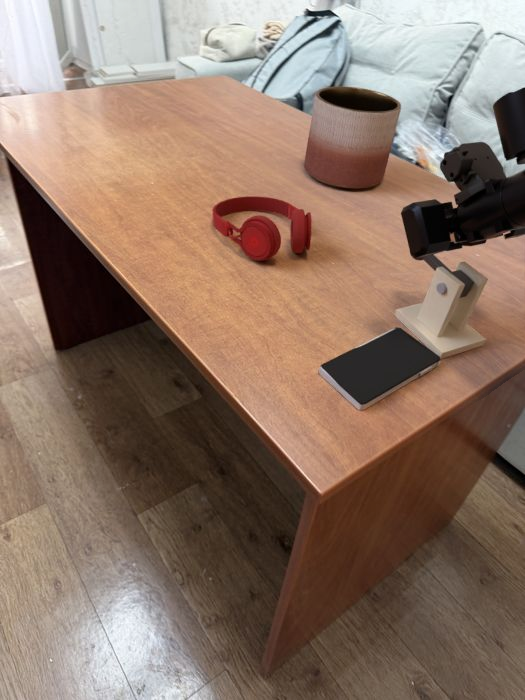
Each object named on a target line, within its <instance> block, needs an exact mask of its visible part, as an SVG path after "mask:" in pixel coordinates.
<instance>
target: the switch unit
mask: <svg viewBox="0 0 525 700" xmlns="http://www.w3.org/2000/svg"><path fill="white" fill-rule="evenodd" d="M457 270H461V271H462V272H463V273H465V274H466V275H467V276H468V277H469V278H470V279H471V280H472V281H473V282H474V284H473V286H472V287H471V289H470V291H469V293H468V295H467V296H465V297H462V298H459V297H460V295H461V293H462V291H463V288H464V286H465V284H464V283H463V282H461V281H460V280H459V279H458V278H456V277H455V276H454V275H452V274H451V273H450V272H449V271H447V270H446V269H445V268H444V267H438V268H437V269H436V271H435V270H434V273H433V276H432V278H431V281H430V284H429V287H428V289H427V292H426V294H425V297H424V300H423V302H419V303H416V304H412V305H408V306H403V307H400V308H396V310H395V313H394V316H395V318H397V320H398V321H399V322H401V323H402V324H403V326H405V327H406V328H407V329H408V330H409V331H410V333H412V334H413V335H414V336H415V337H416V339H417V340H418V341H419V342H420V343H422V344H423V345H425V346H426V347H427V348H429V349H430V350H431V351H433V352H434V353H435V354H437V355H438V356H439V357H440V360H441V359H445V358H448V357H451V356H455V355H458V354H460V353H464V352H467V351H470V350H475V349H476V348H480V347H483V346H484V344H485V342H486V340H487V339H486V338H485V337H484V336H483V335H482V334H480V333H479V332H478V331H477V330H475V329H474V328H473V327H472V326H471V325H470V324H469V323H468V322H469V320H470V318H471V315H472V314H473V311H474V310H475V308H476V305H477V303H478V301H479V299H480V297H481V294H482V293H483V290H484V289H485V287H486V285H487V282H488V281H489V278H488V277H487V276H485V275H484V274H482V273H481V272H480V271H478V270H477V269H476V268H474V267H473V266H472V265H470V264H469V263H467V261H460V262H459V263H458V265H457V267H456V270H455V271H457Z"/></svg>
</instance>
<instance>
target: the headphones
mask: <svg viewBox="0 0 525 700" xmlns="http://www.w3.org/2000/svg"><path fill="white" fill-rule="evenodd" d="M243 211H244V212H245V211H246V212H247V211H258V212H259V211H261V212H268V213H274V214H278V215H281V216H284V217H286V218H287V219H289V220H290V233H289V235H290V236H289V237H290V249H291V251H292V253H294V254H302V253H303V252H304V249H305V251H310V248H311V241H312V215H311V214H312V213H311V212H310V211H307V213H305V210H304V209H303V208H298V207H296V206H294V205H292V204H291V203H290V202H287V201H285V200H282V199H278V198H274V197H267V196H259V195H258V196H257V195H256V196H253V195H252V196H251V195H250V196H248V195H247V196H237V197H233V198H227V199H225V200H221V201H219V202H218V203H216V204H215V205H214V206H213V207H212V225H213V228H214V229H215V230H217V232H219V233H220V234H221V235H222V236H223V237H225V238H227V237H228V238H230V239H231V240H232V241H233V242H234V243H235V244H236V245H238V246H239V247H240V249H241V250H242V252H243V253H244V254H245V255H246V256H247V257H248V258H249V259H251V260H254V261H268V260H270V259H272V258H273V257H275V256H276V255H277V254H278V252H279V250H280V248H281V245H282V237H281V233H280V230H279V228H278V226H277V224H276V223H275V222H274V221H273V220H271V219H270V218H269V217H267V216H265V215H259V214H257V215H253V216H251V217H249V218H247V219H246V220H244V221H243V223H242V225H241V226H240V227H239V228H238V227H237V226H235V225H234V224H233V223H232V222H230V221H229V220H225V219H224V218H223V217H224V216H225V215H229V214H232V213H237V212H243ZM234 232H236V233H237V235H234Z"/></svg>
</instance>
